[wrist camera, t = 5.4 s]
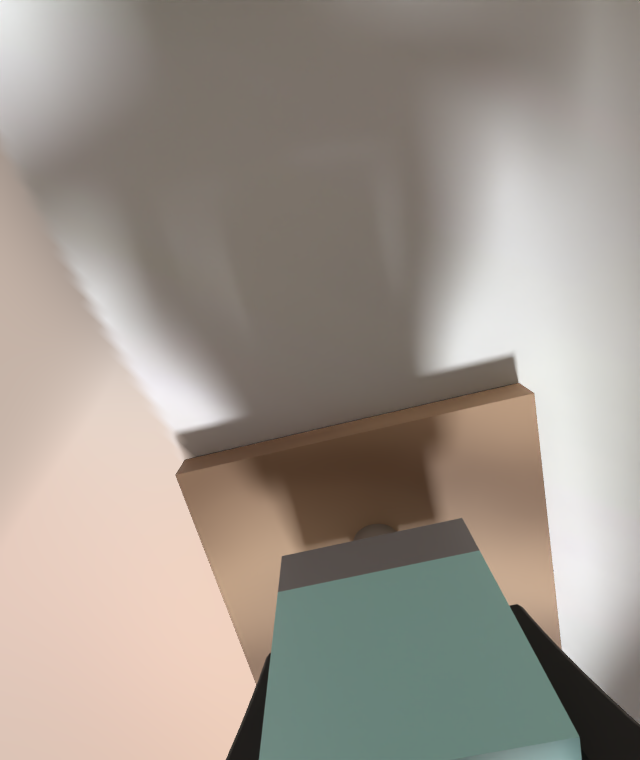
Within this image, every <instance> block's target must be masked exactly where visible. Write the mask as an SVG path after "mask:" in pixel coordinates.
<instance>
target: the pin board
mask: <svg viewBox="0 0 640 760" xmlns="http://www.w3.org/2000/svg"><path fill="white" fill-rule="evenodd" d="M176 478H177V480H178V483H179V486H180V488H181V490H182V493H183V496H184V498H185V501H186V504H187V506H188V509H189V511H190V514H191V517H192V519H193V522H194V524H195V527H196V529H197V532H198V535H199V537H200V540H201V543H202V545H203V548H204V550H205V553H206V555H207V558H208V561H209V563H210V566H211V568H212V571H213V574H214V576H215V579H216V581H217V584H218V587H219V589H220V592H221V594H222V597H223V599H224V602H225V605H226V607H227V610H228V613H229V615H230V618H231V620H232V623H233V625H234V628H235V631H236V633H237V636H238V638H239V641H240V644H241V646H242V649H243V651H244V654H245V656H246V659H247V662H248V664H249V667H250V669H251V672H252V675H253V677H254V680H255V683H256V685H257V682H258V680H259V677H260V674H261V671H262V668H263V666H264V663H265V660H266V657H267V656H268V655H269V653H271V648H272V639H273V630H274V621H275V612H276V604H277V595H278V586H279V577H280V568H281V559H282V556H285V555H289V554H294V553H299V552H304V551H308V550H313V549H318V548H322V547H327V546H332V545H337V544H341V543H346V542H351V541H355V540H360V539H365V538H369V537H374V536H379V535H384V534H388V533H393V532H398V531H402V530H407V529H412V528H417V527H421V526H426V525H431V524H435V523H440V522H445V521H449V520H454V519H459V518H463V520H464V522H465V524H466V526H467V528H468V530H469V531H470V533H471V535H472V537H473V539H474V541H475V543H476V545H477V546H478V548H479V550H480V552H481V554H482V556H483V558H484V559H485V561H486V563H487V565H488V567H489V569H490V571H491V573H492V574H493V576H494V578H495V580H496V582H497V584H498V586H499V587H500V589H501V591H502V593H503V595H504V597H505V599H506V601H507V602H508V604H509V606H510V605H515V604H518V605H520V606H522V607H523V608H524V609H525V610H526V612H527V613H528V614H529V615H530V616H531V617H532V619H533V620H534V621H535V622H536V623H537V624H538V625H539V626H540V628H541V629H542V630H543V631H544V632H545V633H546V634H547V635H548V636H549V637H550V638H551V639H552V640H553V642H554V643H555V644H556V645H557V646H558V647H559V648H560V649H561V639H560V630H559V621H558V611H557V602H556V593H555V583H554V574H553V565H552V555H551V546H550V537H549V527H548V518H547V509H546V499H545V490H544V481H543V471H542V462H541V453H540V443H539V434H538V425H537V415H536V406H535V396H534V393H533V392H532V391H530V390H529V389H527V388H526V387H524V386H523V385H521V384H520V383H517V384H512V385H508V386H504V387H499V388H495V389H491V390H486V391H482V392H478V393H473V394H469V395H465V396H460V397H456V398H451V399H447V400H443V401H438V402H434V403H430V404H425V405H421V406H417V407H412V408H408V409H404V410H399V411H395V412H391V413H386V414H382V415H378V416H373V417H369V418H364V419H360V420H356V421H351V422H347V423H343V424H338V425H334V426H330V427H325V428H321V429H317V430H312V431H308V432H304V433H299V434H295V435H291V436H286V437H282V438H277V439H273V440H269V441H264V442H260V443H256V444H251V445H247V446H243V447H238V448H234V449H230V450H225V451H221V452H217V453H212V454H208V455H204V456H199V457H195V458H190V459H186V460H184V462H183V464H182V465H181V467H180V469H179V470H178V472H177V473H176ZM561 650H562V649H561Z"/></svg>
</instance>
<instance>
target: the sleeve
mask: <svg viewBox="0 0 640 760" xmlns="http://www.w3.org/2000/svg"><path fill="white" fill-rule="evenodd" d="M259 760H582V757H581V746H580V737H579V735H578V733H577V731H576V729H575V727H574V726H573V724H572V722H571V720H570V718H569V716H568V714H567V712H566V711H565V709H564V707H563V705H562V703H561V701H560V699H559V698H558V696H557V694H556V692H555V690H554V688H553V686H552V684H551V683H550V681H549V679H548V677H547V675H546V673H545V671H544V670H543V668H542V666H541V664H540V662H539V660H538V658H537V656H536V655H535V653H534V651H533V649H532V647H531V645H530V643H529V642H528V640H527V638H526V636H525V634H524V632H523V630H522V628H521V627H520V625H519V623H518V621H517V619H516V617H515V615H514V614H513V612H512V610H511V608H510V606H509V604H508V602H507V601H506V599H505V597H504V595H503V593H502V591H501V589H500V587H499V586H498V584H497V582H496V580H495V578H494V576H493V574H492V573H491V571H490V569H489V567H488V565H487V563H486V561H485V559H484V558H483V556H482V554H481V552H480V550H479V548H478V546H477V545H476V543H475V541H474V539H473V537H472V535H471V533H470V531H469V530H468V528H467V526H466V524H465V522H464V520H463V518H459V519H454V520H449V521H445V522H440V523H435V524H431V525H426V526H421V527H417V528H412V529H407V530H402V531H398V532H393V533H388V534H384V535H379V536H374V537H369V538H365V539H360V540H355V541H351V542H346V543H341V544H337V545H332V546H327V547H322V548H318V549H313V550H308V551H304V552H299V553H294V554H289V555H285V556H282V559H281V568H280V577H279V586H278V595H277V604H276V612H275V621H274V630H273V639H272V648H271V657H270V666H269V675H268V684H267V693H266V701H265V710H264V719H263V728H262V737H261V746H260V755H259Z"/></svg>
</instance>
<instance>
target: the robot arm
mask: <svg viewBox="0 0 640 760" xmlns="http://www.w3.org/2000/svg"><path fill="white" fill-rule="evenodd" d="M510 608H511V610H512V612H513V614H514V615H515V617H516V619H517V621H518V623H519V625H520V627H521V628H522V630H523V632H524V634H525V636H526V638H527V640H528V642H529V643H530V645H531V647H532V649H533V651H534V653H535V655H536V656H537V658H538V660H539V662H540V664H541V666H542V668H543V670H544V671H545V673H546V675H547V677H548V679H549V681H550V683H551V684H552V686H553V688H554V690H555V692H556V694H557V696H558V698H559V699H560V701H561V703H562V705H563V707H564V709H565V711H566V712H567V714H568V716H569V718H570V720H571V722H572V724H573V726H574V727H575V729H576V731H577V733H578V735H579V737H580V746H581V757H582V760H640V725H639V724H638V723H637V722H636V721H635V720H634V719H633V718H632V717H630V716H629V715H628V714H627V713H626V712H625V711H624V710H623V709H622V708H621V707H620V706H619V705H617V704H616V703H615V702H614V701H613V700H612V699H611V698H610V697H609V696H608V695H607V694H606V693H605V692H604V691H603V690H602V689H601V688H599V687H598V686H597V685H596V684H595V683H594V682H593V681H592V680H591V679H590V678H589V677H588V676H587V675H586V674H585V673H584V672H583V671H582V670H581V669H580V668H579V667H578V666H577V665H576V664H575V663H574V662H573V661H572V660H571V659H570V658H569V657H568V656H567V655H566V654H565V653H564V652H563V651H562V650H561V649H560V648H559V647H558V646H557V645H556V644H555V643H554V642H553V640H552V639H551V638H550V637H549V636H548V635H547V634H546V633H545V632H544V631H543V630H542V629H541V628H540V626H539V625H538V624H537V623H536V622H535V621H534V620H533V619H532V617H531V616H530V615H529V614H528V613H527V612H526V610H525V609H524V608H523V607H522V606H520V605H518V604H515V605H510ZM270 657H271V653H269V655H268V656H267V657H266V660H265V663H264V666H263V668H262V671H261V674H260V677H259V680H258V682H257V685H256V688H255V691H254V693H253V696H252V698H251V701H250V703H249V706H248V708H247V711H246V713H245V716H244V718H243V721H242V723H241V726H240V728H239V730H238V733H237V735H236V738H235V740H234V742H233V745H232V747H231V749H230V751H229V754H228V756H227V758H226V760H259V755H260V746H261V737H262V728H263V719H264V710H265V701H266V693H267V684H268V675H269V666H270Z"/></svg>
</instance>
